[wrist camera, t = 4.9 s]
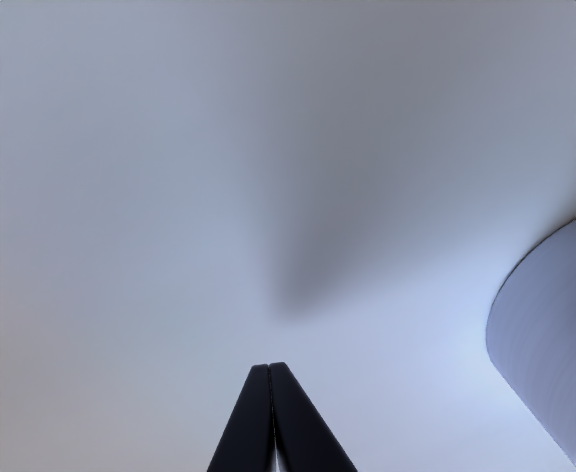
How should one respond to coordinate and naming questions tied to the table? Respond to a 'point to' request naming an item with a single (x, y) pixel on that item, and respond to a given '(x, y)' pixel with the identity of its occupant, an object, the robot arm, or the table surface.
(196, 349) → the table surface
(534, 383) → the silver pot
